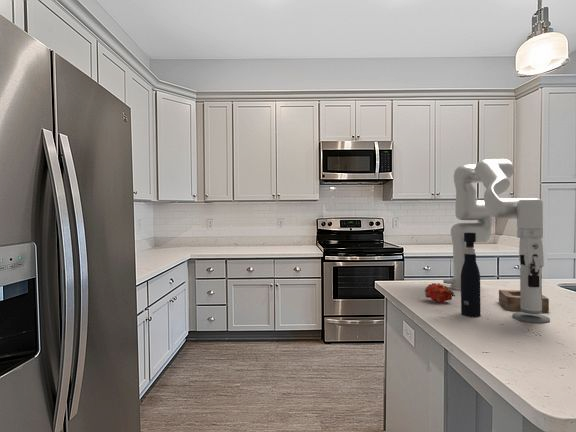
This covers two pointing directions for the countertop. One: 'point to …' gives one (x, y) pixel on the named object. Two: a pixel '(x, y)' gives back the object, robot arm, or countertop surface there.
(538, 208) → the robot arm
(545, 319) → the coaster
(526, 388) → the countertop surface
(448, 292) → the dragon fruit
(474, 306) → the black water bottle
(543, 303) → the mug holder
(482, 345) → the countertop surface
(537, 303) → the travel mug
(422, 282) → the countertop surface
